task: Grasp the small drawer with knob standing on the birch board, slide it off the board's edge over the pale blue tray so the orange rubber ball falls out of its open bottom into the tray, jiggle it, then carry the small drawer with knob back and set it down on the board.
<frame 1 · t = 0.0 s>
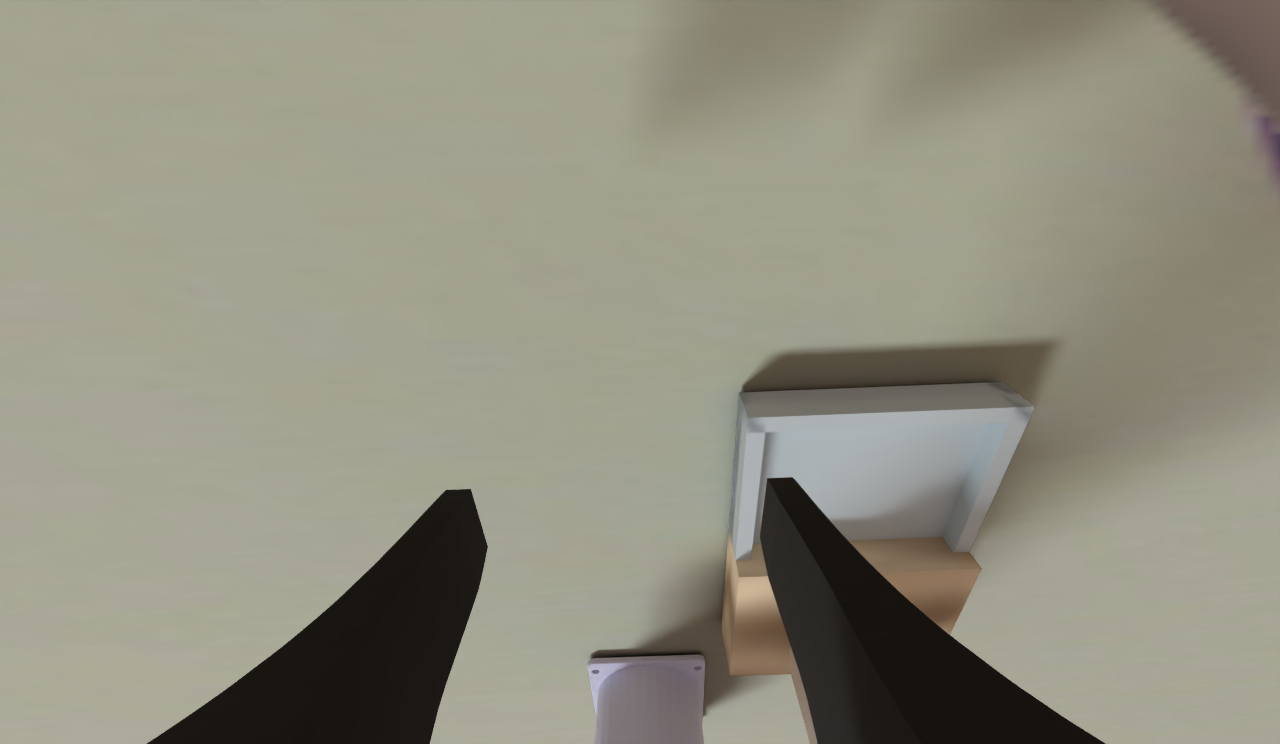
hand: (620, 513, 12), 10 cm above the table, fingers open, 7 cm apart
tray: (852, 463, 24), on the table
board: (825, 578, 28), on the table
small drawer with knob: (842, 632, 26), point 3 cm above the table, touching board
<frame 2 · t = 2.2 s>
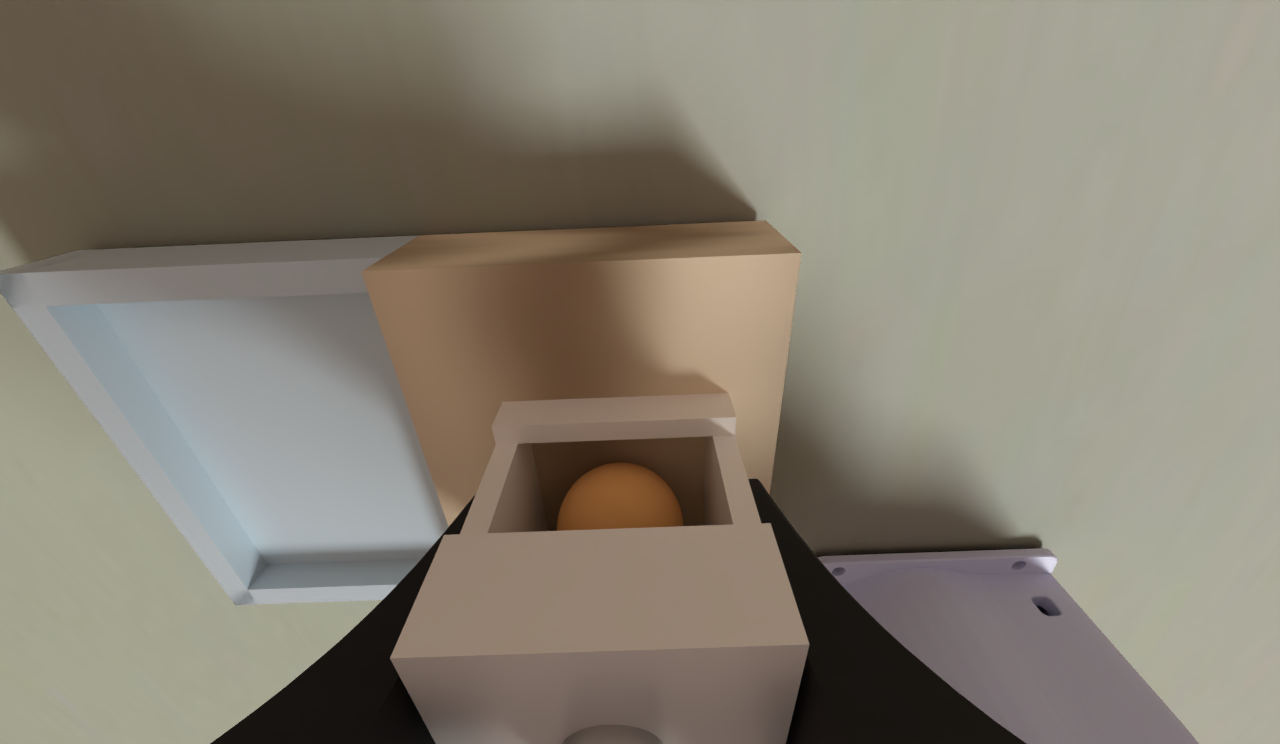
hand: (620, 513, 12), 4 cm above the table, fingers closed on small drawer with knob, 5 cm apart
tray: (331, 428, 15), on the table
board: (608, 417, 15), on the table
ball: (620, 525, 11), point 4 cm above the table, touching board
small drawer with knob: (621, 482, 13), point 3 cm above the table, touching board, gripper
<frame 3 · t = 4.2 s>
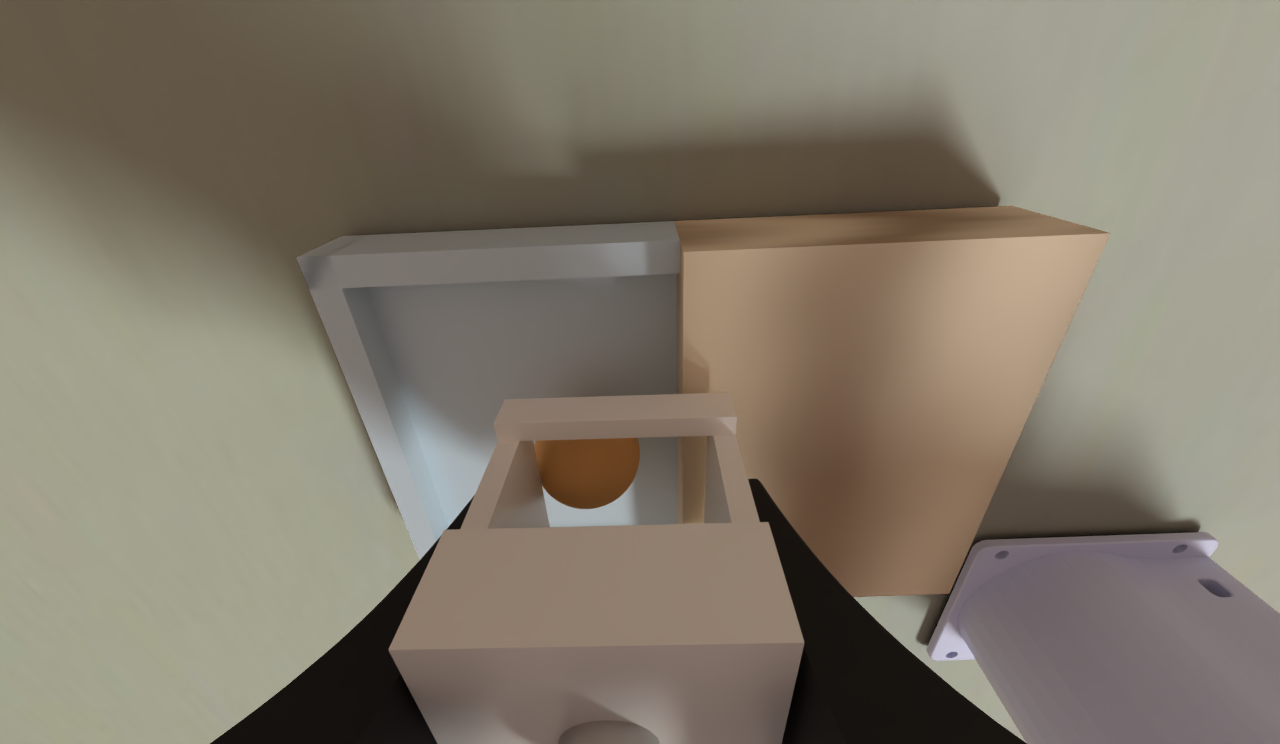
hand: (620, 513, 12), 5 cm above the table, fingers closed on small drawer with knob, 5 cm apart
tray: (539, 411, 16), on the table
board: (811, 401, 16), on the table
ball: (587, 454, 13), point 2 cm above the table, tilted 48°, touching tray
small drawer with knob: (623, 480, 13), point 3 cm above the table, touching gripper
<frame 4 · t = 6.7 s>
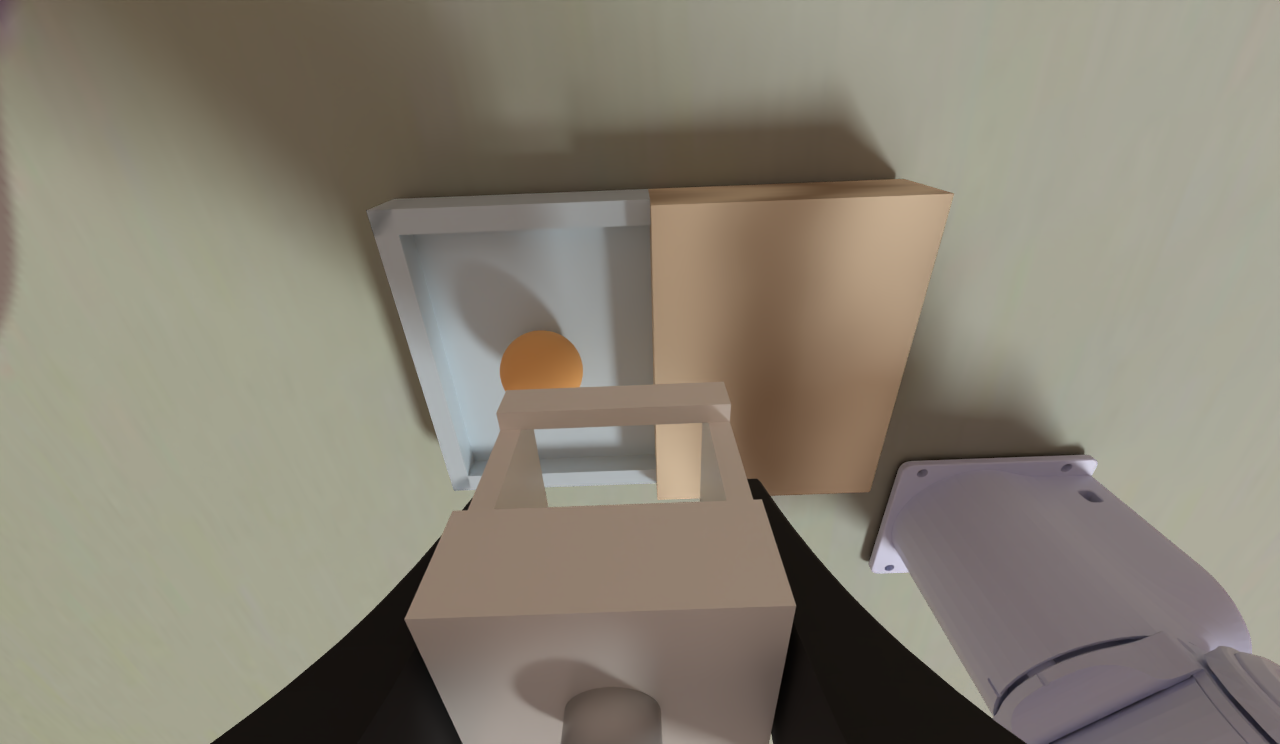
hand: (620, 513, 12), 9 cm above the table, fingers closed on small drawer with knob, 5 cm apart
tray: (543, 345, 20), on the table
board: (760, 337, 20), on the table
ball: (542, 371, 17), point 2 cm above the table, tilted 6°, touching tray
small drawer with knob: (621, 469, 13), point 8 cm above the table, touching gripper
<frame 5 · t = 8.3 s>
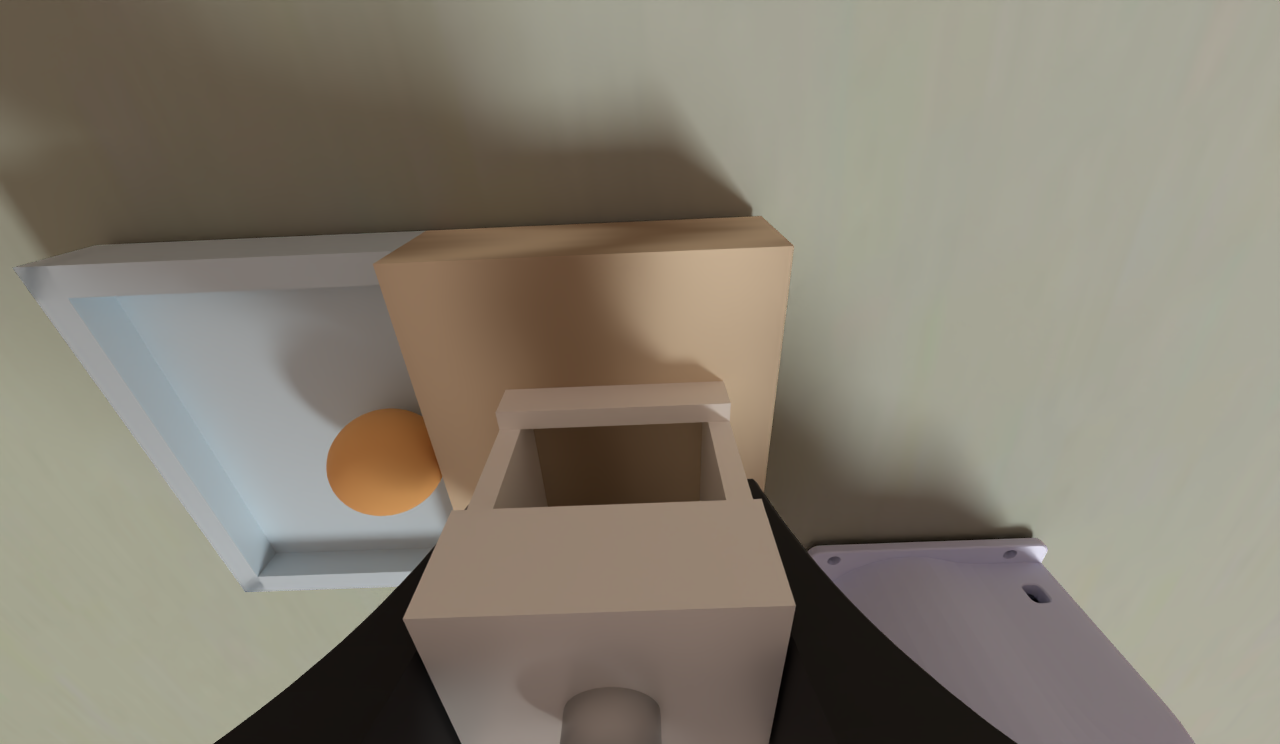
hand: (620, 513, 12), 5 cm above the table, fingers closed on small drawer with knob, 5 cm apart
tray: (339, 419, 16), on the table
board: (609, 408, 16), on the table
ball: (389, 461, 13), point 2 cm above the table, tilted 89°, touching tray
small drawer with knob: (620, 469, 13), point 3 cm above the table, touching board, gripper
when the fingers open (5 cm above the table, at t = 8.6 s): small drawer with knob stays where it is, resting on board.
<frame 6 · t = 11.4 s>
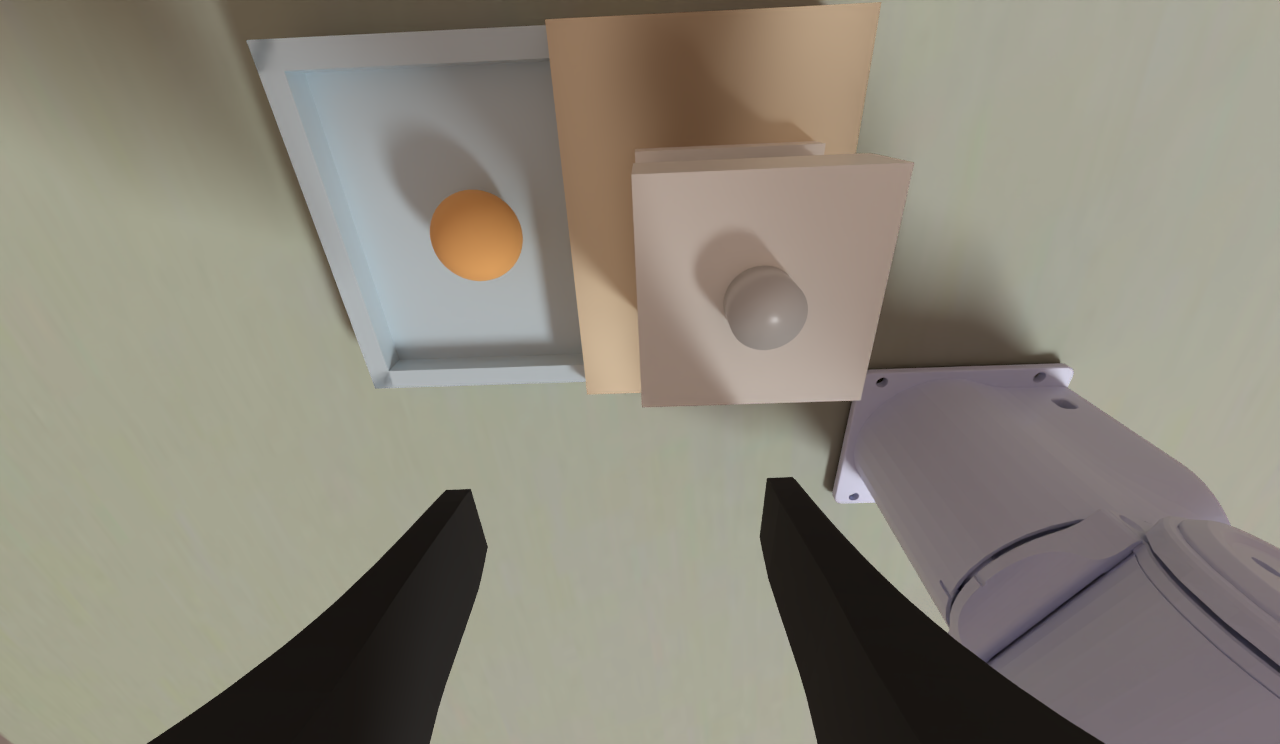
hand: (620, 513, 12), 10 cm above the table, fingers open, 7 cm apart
tray: (465, 227, 18), on the table
board: (696, 217, 18), on the table
ball: (477, 236, 16), point 2 cm above the table, tilted 29°, touching tray
small drawer with knob: (720, 235, 16), point 3 cm above the table, touching board
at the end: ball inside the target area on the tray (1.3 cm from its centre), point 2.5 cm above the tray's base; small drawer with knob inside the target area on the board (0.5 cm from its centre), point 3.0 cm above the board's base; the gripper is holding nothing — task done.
